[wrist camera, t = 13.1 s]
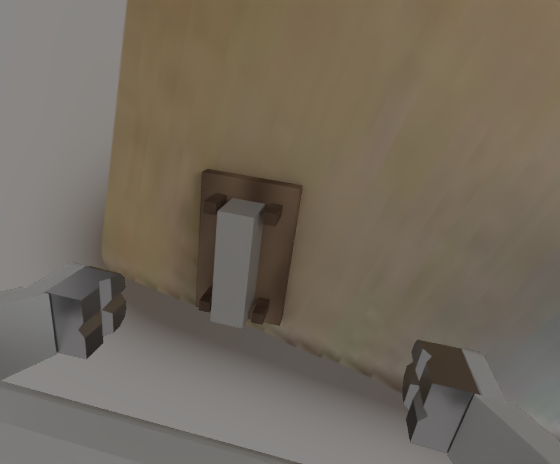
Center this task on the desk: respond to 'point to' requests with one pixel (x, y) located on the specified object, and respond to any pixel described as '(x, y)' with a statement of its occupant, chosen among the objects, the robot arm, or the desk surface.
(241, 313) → the grey rectangular block
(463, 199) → the desk surface
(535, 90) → the desk surface
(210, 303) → the footed brown board
